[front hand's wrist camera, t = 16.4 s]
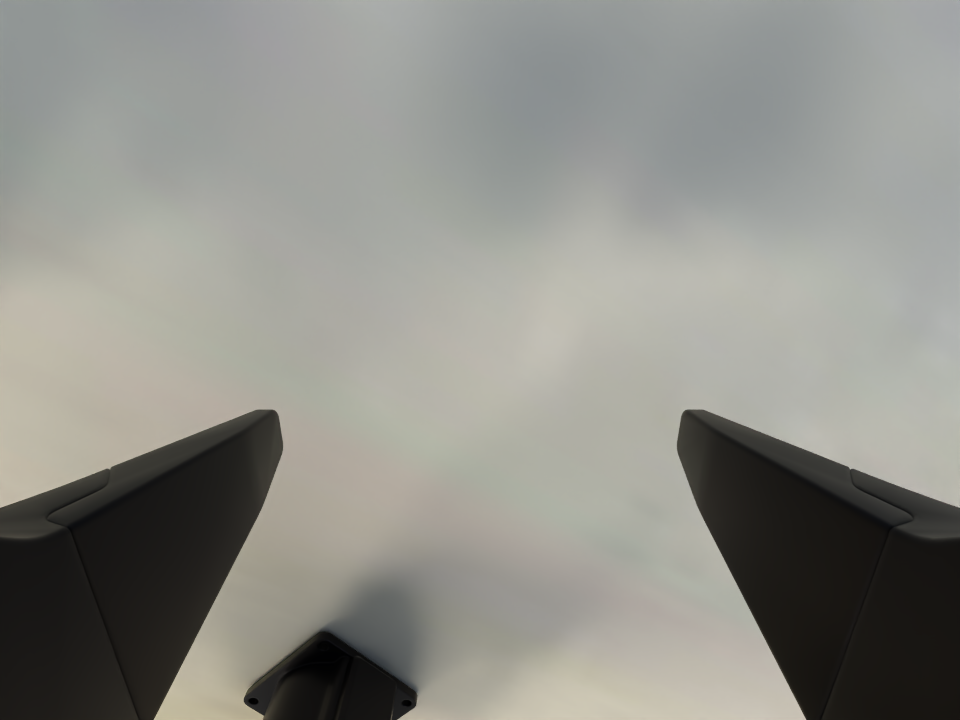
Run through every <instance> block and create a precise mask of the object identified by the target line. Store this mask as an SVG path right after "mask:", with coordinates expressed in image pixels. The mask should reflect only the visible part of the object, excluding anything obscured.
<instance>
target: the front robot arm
mask: <svg viewBox="0 0 960 720" xmlns="http://www.w3.org/2000/svg"><path fill="white" fill-rule="evenodd" d="M282 451H283V440H282V434H281V428H280V422H279V416H278V414H277V412H276V411H275V410H255V411H252V412H250V413H247V414H245V415H242V416H240V417H237V418H235V419H232V420H230V421H227V422H224V423H222V424H219V425H217V426H214V427H212V428H209V429H207V430H204V431H202V432H199V433H197V434H194V435H191V436H189V437H186V438H184V439H181V440H179V441H176V442H174V443H171V444H169V445H166V446H164V447H161V448H158V449H156V450H153V451H151V452H148V453H146V454H143V455H141V456H138V457H136V458H133V459H131V460H128V461H126V462H123V463H120V464H118V465H115V466H113V467H111V469H105V470H102V471H100V472H97V473H95V474H92V475H90V476H87V477H85V478H82V479H79V480H77V481H74V482H71V483H69V484H66V485H64V486H61V487H58V488H55V489H53V490H50V491H47V492H44V493H42V494H39V495H36V496H33V497H30V498H28V499H25V500H22V501H19V502H16V503H13V504H10V505H8V506H5V507H2V508H0V720H154V718H155V716H156V714H157V712H158V710H159V708H160V706H161V704H162V702H163V700H164V698H165V697H166V695H167V693H168V691H169V689H170V687H171V685H172V683H173V681H174V679H175V677H176V675H177V673H178V671H179V669H180V667H181V665H182V663H183V661H184V659H185V657H186V656H187V654H188V652H189V650H190V648H191V646H192V644H193V642H194V640H195V638H196V636H197V634H198V632H199V630H200V628H201V626H202V624H203V622H204V620H205V618H206V617H207V615H208V613H209V611H210V609H211V607H212V605H213V603H214V601H215V599H216V597H217V595H218V593H219V591H220V589H221V587H222V585H223V583H224V581H225V579H226V577H227V576H228V574H229V572H230V570H231V568H232V566H233V564H234V562H235V560H236V558H237V556H238V554H239V552H240V550H241V548H242V546H243V544H244V542H245V540H246V538H247V536H248V535H249V533H250V531H251V529H252V527H253V525H254V523H255V521H256V519H257V517H258V515H259V513H260V511H261V509H262V506H263V504H264V501H265V499H266V496H267V493H268V490H269V488H270V485H271V482H272V480H273V477H274V474H275V471H276V469H277V466H278V463H279V460H280V458H281V455H282ZM677 451H678V455H679V458H680V460H681V463H682V466H683V469H684V471H685V474H686V477H687V480H688V482H689V485H690V488H691V490H692V493H693V496H694V499H695V501H696V504H697V506H698V509H699V511H700V513H701V515H702V517H703V519H704V521H705V523H706V525H707V527H708V529H709V531H710V533H711V535H712V536H713V538H714V540H715V542H716V544H717V546H718V548H719V550H720V552H721V554H722V556H723V558H724V560H725V562H726V564H727V566H728V568H729V570H730V572H731V574H732V576H733V577H734V579H735V581H736V583H737V585H738V587H739V589H740V591H741V593H742V595H743V597H744V599H745V601H746V603H747V605H748V607H749V609H750V611H751V613H752V615H753V617H754V618H755V620H756V622H757V624H758V626H759V628H760V630H761V632H762V634H763V636H764V638H765V640H766V642H767V644H768V646H769V648H770V650H771V652H772V654H773V656H774V657H775V659H776V661H777V663H778V665H779V667H780V669H781V671H782V673H783V675H784V677H785V679H786V681H787V683H788V685H789V687H790V689H791V691H792V693H793V695H794V697H795V698H796V700H797V702H798V704H799V706H800V708H801V710H802V712H803V714H804V716H805V718H806V720H960V508H958V507H955V506H952V505H950V504H947V503H944V502H941V501H938V500H935V499H932V498H930V497H927V496H924V495H921V494H918V493H916V492H913V491H910V490H907V489H905V488H902V487H899V486H896V485H894V484H891V483H889V482H886V481H883V480H881V479H878V478H875V477H873V476H870V475H868V474H865V473H863V472H860V471H858V470H855V469H851V470H850V469H849V467H847V466H845V465H842V464H840V463H837V462H834V461H832V460H829V459H827V458H824V457H822V456H819V455H817V454H814V453H812V452H809V451H807V450H804V449H802V448H799V447H796V446H794V445H791V444H789V443H786V442H784V441H781V440H779V439H776V438H774V437H771V436H769V435H766V434H763V433H761V432H758V431H756V430H753V429H751V428H748V427H746V426H743V425H741V424H738V423H736V422H733V421H730V420H728V419H725V418H723V417H720V416H718V415H715V414H713V413H710V412H708V411H705V410H685V411H684V412H683V414H682V416H681V422H680V428H679V434H678V440H677ZM244 702H245V704H246V705H247V706H249V707H250V708H252V709H254V710H255V711H257V712H259V713H260V714H262V715H264V718H263V720H397V719H399V718H400V717H401V716H403V715H404V714H406V713H407V712H409V711H410V710H412V709H413V708H414V707H415V706H416V703H417V693H416V692H415V691H414V690H412V689H411V688H409V687H408V686H407V685H405V684H404V683H402V682H401V681H399V680H398V679H396V678H395V677H393V676H392V675H391V674H389V673H388V672H386V671H385V670H383V669H382V668H380V667H379V666H377V665H376V664H375V663H373V662H372V661H370V660H369V659H367V658H366V657H364V656H363V655H361V654H360V653H359V652H357V651H356V650H354V649H353V648H351V647H350V646H348V645H347V644H345V643H344V642H343V641H341V640H340V639H338V638H337V637H335V636H334V635H332V634H330V633H328V632H321V633H319V634H317V635H316V636H314V637H313V638H312V639H311V640H309V641H308V642H307V643H306V644H304V645H303V646H302V647H301V648H299V649H298V650H297V651H296V652H294V653H293V654H292V655H291V656H289V657H288V658H287V659H286V660H284V661H283V662H282V663H281V664H279V665H278V666H277V667H276V668H274V669H273V670H272V671H271V672H269V673H268V674H267V675H266V676H264V677H263V678H262V679H260V680H259V681H258V682H257V683H255V684H254V685H253V686H252V687H250V688H249V689H248V691H247V693H246V695H245V697H244Z"/></svg>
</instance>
